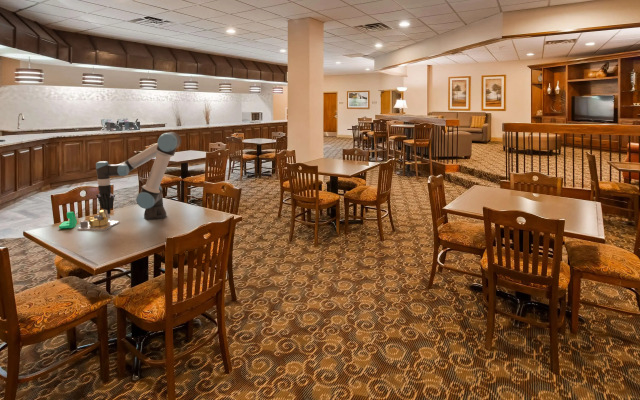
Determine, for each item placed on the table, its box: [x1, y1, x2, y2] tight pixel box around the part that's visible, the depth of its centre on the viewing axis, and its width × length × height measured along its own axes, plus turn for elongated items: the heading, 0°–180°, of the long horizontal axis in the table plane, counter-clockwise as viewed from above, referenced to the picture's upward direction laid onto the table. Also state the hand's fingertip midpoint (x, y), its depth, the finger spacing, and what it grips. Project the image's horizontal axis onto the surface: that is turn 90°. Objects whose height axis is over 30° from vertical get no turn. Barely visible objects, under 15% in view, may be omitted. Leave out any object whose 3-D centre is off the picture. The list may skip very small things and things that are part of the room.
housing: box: [77, 214, 120, 231], centre depth 266 cm, size 19×18×7 cm
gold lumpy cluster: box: [88, 209, 109, 226], centre depth 268 cm, size 16×11×7 cm
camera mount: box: [58, 211, 78, 229], centre depth 264 cm, size 12×8×10 cm, turn 17°
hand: (108, 218), depth 274 cm, fingers closed
